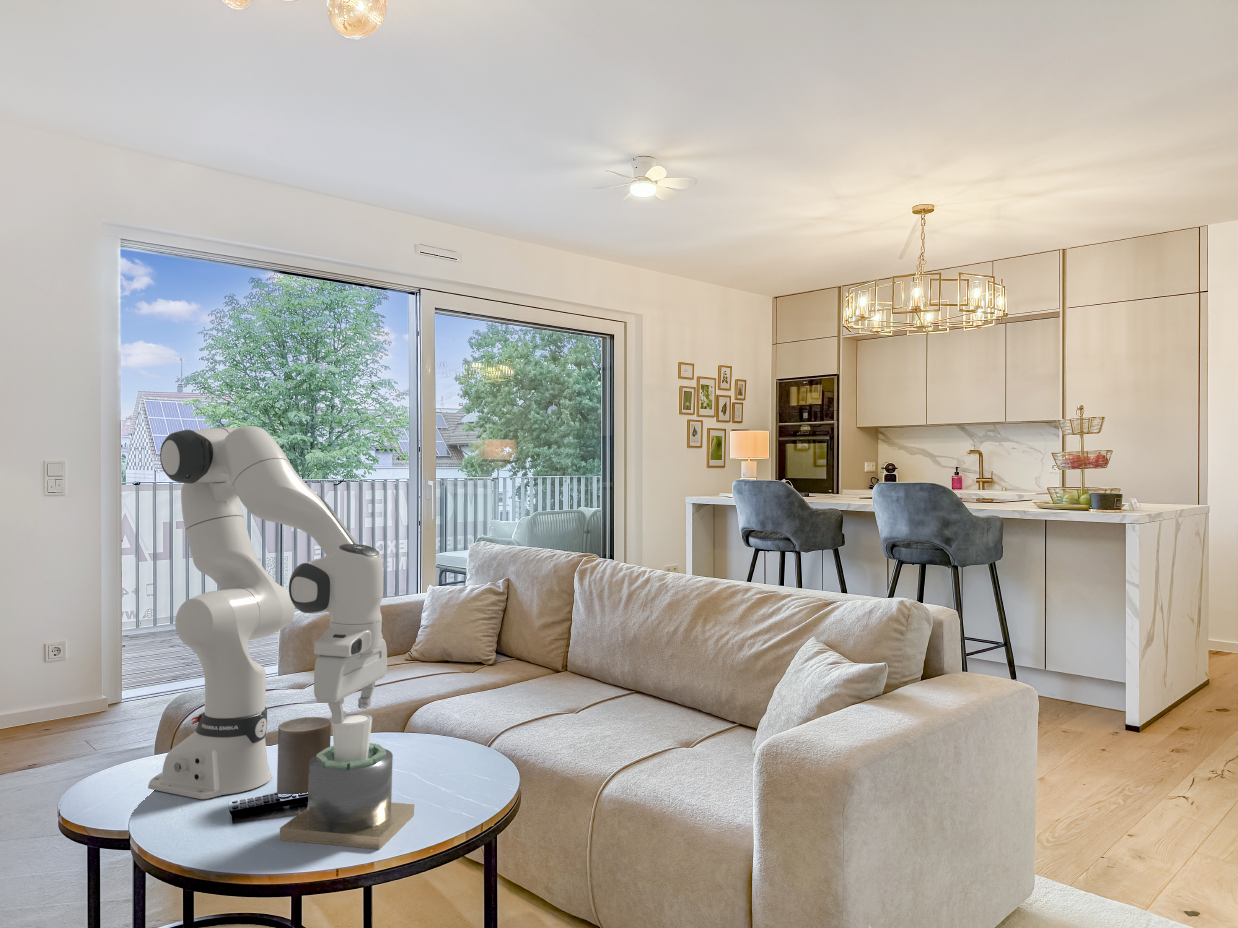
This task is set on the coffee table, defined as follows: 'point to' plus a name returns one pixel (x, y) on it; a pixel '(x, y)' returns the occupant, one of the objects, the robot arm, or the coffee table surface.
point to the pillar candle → (299, 751)
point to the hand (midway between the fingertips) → (351, 714)
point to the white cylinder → (352, 738)
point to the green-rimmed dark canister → (349, 802)
